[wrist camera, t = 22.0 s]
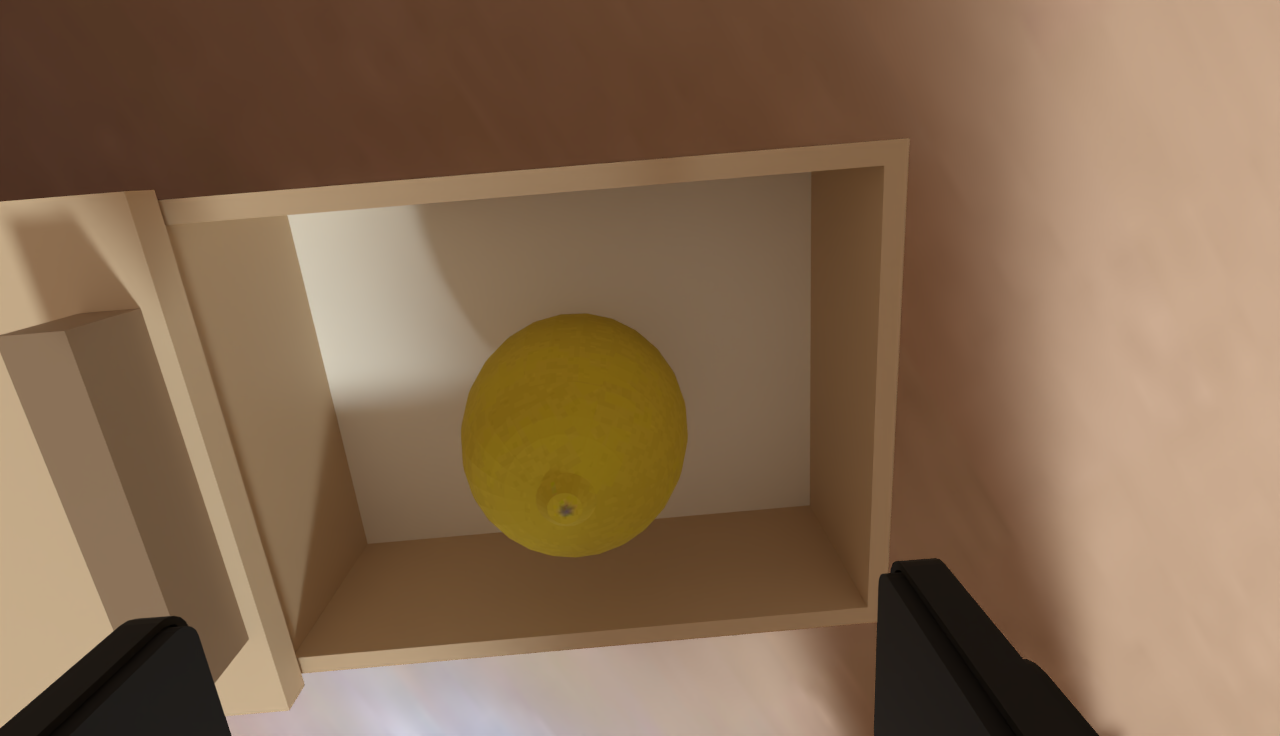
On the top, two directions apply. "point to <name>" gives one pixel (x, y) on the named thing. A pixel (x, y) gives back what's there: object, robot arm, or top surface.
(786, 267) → the mailer box
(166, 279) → the mailer lid
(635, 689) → the top surface
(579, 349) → the lemon
